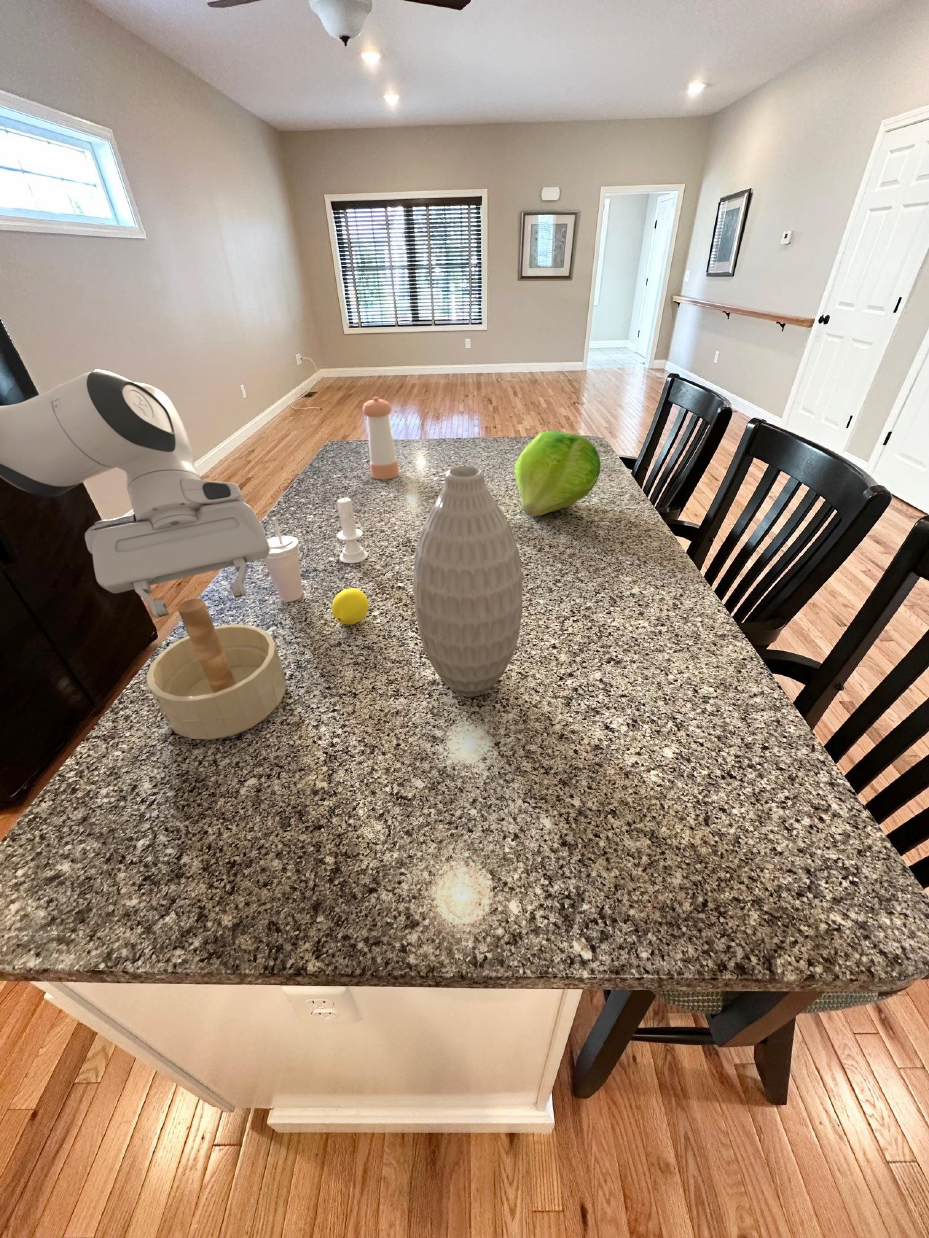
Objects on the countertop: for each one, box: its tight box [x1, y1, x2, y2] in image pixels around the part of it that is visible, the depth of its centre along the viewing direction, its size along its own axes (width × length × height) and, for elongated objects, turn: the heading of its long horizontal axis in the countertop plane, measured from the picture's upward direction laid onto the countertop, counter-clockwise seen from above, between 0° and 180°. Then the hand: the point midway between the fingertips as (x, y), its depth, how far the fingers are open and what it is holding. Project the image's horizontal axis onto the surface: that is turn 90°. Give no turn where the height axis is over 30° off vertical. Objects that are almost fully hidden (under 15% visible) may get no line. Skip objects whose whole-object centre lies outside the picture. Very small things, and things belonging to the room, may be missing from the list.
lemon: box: [331, 587, 370, 626], centre depth 79 cm, size 7×5×5 cm
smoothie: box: [262, 517, 303, 603], centre depth 83 cm, size 6×6×14 cm
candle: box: [336, 497, 369, 564], centre depth 94 cm, size 5×5×12 cm
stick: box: [177, 598, 236, 693], centre depth 62 cm, size 3×3×14 cm
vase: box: [412, 465, 524, 697], centre depth 60 cm, size 13×13×28 cm
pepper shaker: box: [362, 396, 400, 480], centre depth 130 cm, size 7×7×19 cm
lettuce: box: [514, 429, 602, 517], centre depth 110 cm, size 17×20×17 cm
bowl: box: [146, 623, 287, 740], centre depth 64 cm, size 14×14×7 cm
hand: (201, 605), depth 66 cm, fingers open, 8 cm apart
